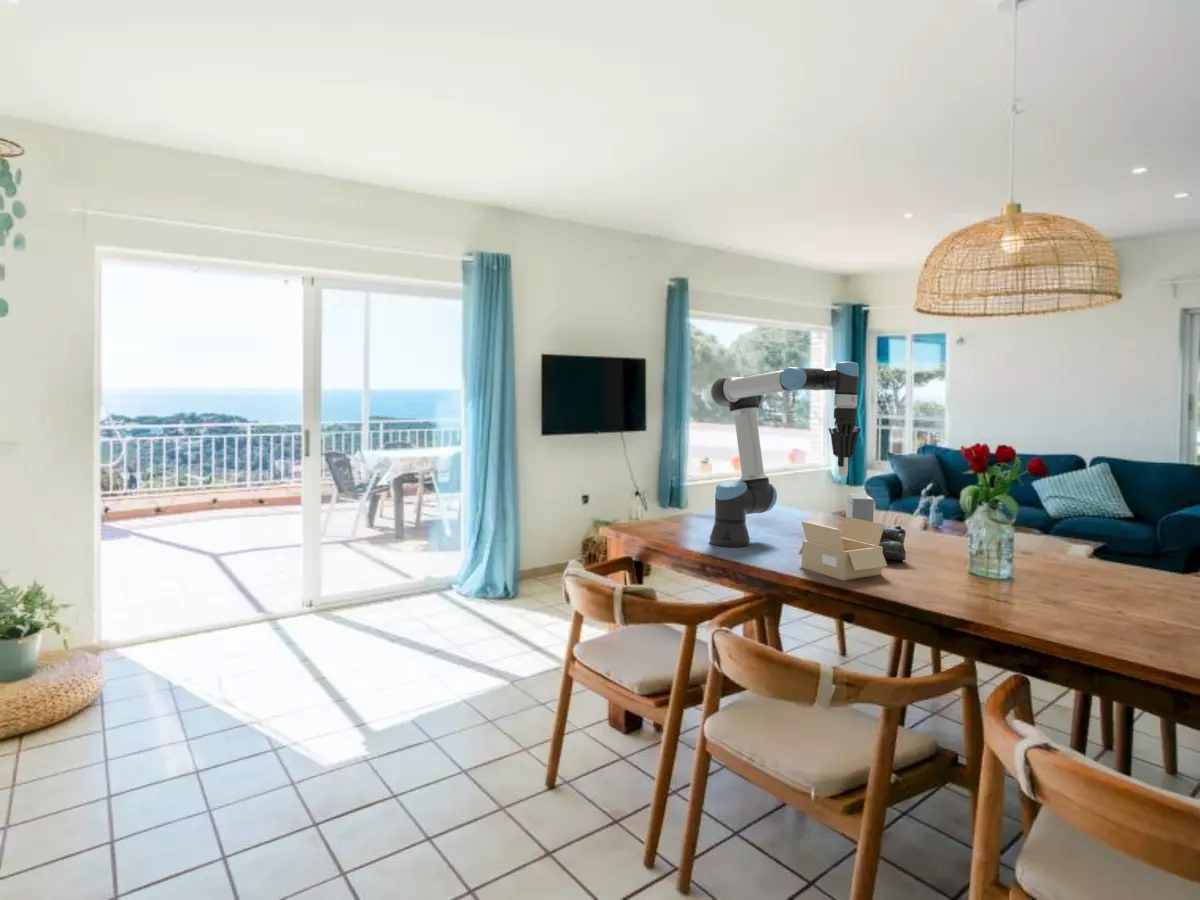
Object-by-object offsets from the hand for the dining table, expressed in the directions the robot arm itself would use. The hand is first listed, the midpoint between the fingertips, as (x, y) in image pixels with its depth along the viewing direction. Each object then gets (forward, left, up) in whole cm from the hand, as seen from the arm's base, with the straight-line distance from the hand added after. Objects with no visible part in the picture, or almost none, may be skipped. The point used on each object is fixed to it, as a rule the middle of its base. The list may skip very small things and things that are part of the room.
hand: (842, 475), depth 243 cm
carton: (+12, -12, -29) cm, 34 cm away
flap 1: (+12, -21, -17) cm, 29 cm away
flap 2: (+12, -3, -17) cm, 21 cm away
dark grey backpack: (+6, +14, -30) cm, 34 cm away
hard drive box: (-10, +20, -30) cm, 37 cm away
